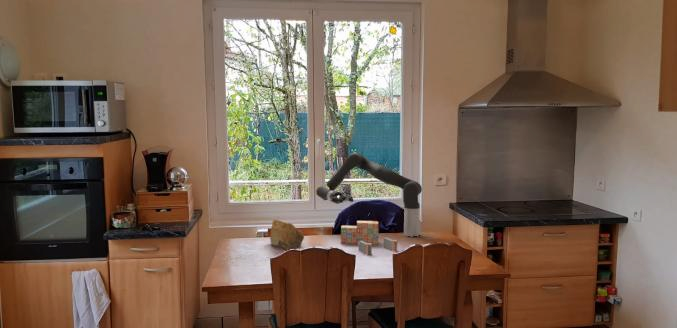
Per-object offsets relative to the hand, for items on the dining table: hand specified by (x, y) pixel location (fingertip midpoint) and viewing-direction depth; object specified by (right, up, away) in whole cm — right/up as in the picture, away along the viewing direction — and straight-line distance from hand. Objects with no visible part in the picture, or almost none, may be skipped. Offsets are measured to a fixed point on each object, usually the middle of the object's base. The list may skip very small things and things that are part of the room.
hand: (347, 200), depth 274 cm
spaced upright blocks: (+16, -25, -29) cm, 41 cm away
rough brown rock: (-33, -24, -21) cm, 46 cm away
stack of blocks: (+7, -24, -12) cm, 27 cm away
